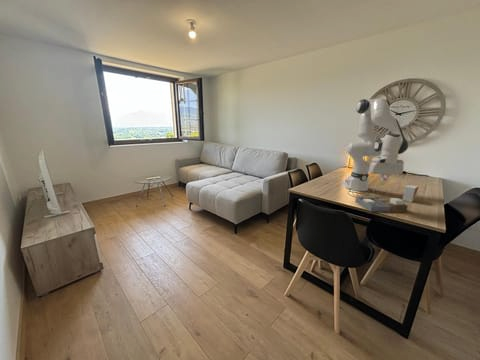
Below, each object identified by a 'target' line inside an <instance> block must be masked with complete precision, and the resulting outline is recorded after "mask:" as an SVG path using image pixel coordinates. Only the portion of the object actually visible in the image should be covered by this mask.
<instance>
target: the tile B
mask: <svg viewBox="0 0 480 360" xmlns="http://www.w3.org/2000/svg"><path fill="white" fill-rule="evenodd" d="M390 202H391V203H393V204H395V205H404V204H405V201H404V200H402V199H400V198H397V197H396V198H395V197H394V198H393V197H390Z"/></svg>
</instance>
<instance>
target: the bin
mask: <svg viewBox="0 0 480 360" xmlns="http://www.w3.org/2000/svg"><path fill="white" fill-rule="evenodd" d="M374 197H375V196H374ZM374 197H373V196H372V197H371V196H369V197H368V196H367V197H361V196H360V197H359V196H358V197H355V201H354V202H355V203H356V204H358V205H360V206H361V207H363V208H364V209H365V210H367V211H369V212H373V213H374V212H375V213H376V212H380V213H381V212H383V213H385V212H388V213H389V212H390V209H391V206H389V205H387V204H385V203H384V202H382V201H380V200H378V199H376V198H374ZM363 199H371V200H373V201H375V204H374V205H369V204H368V203H366V202H364V201H363ZM390 213H391V212H390Z"/></svg>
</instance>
